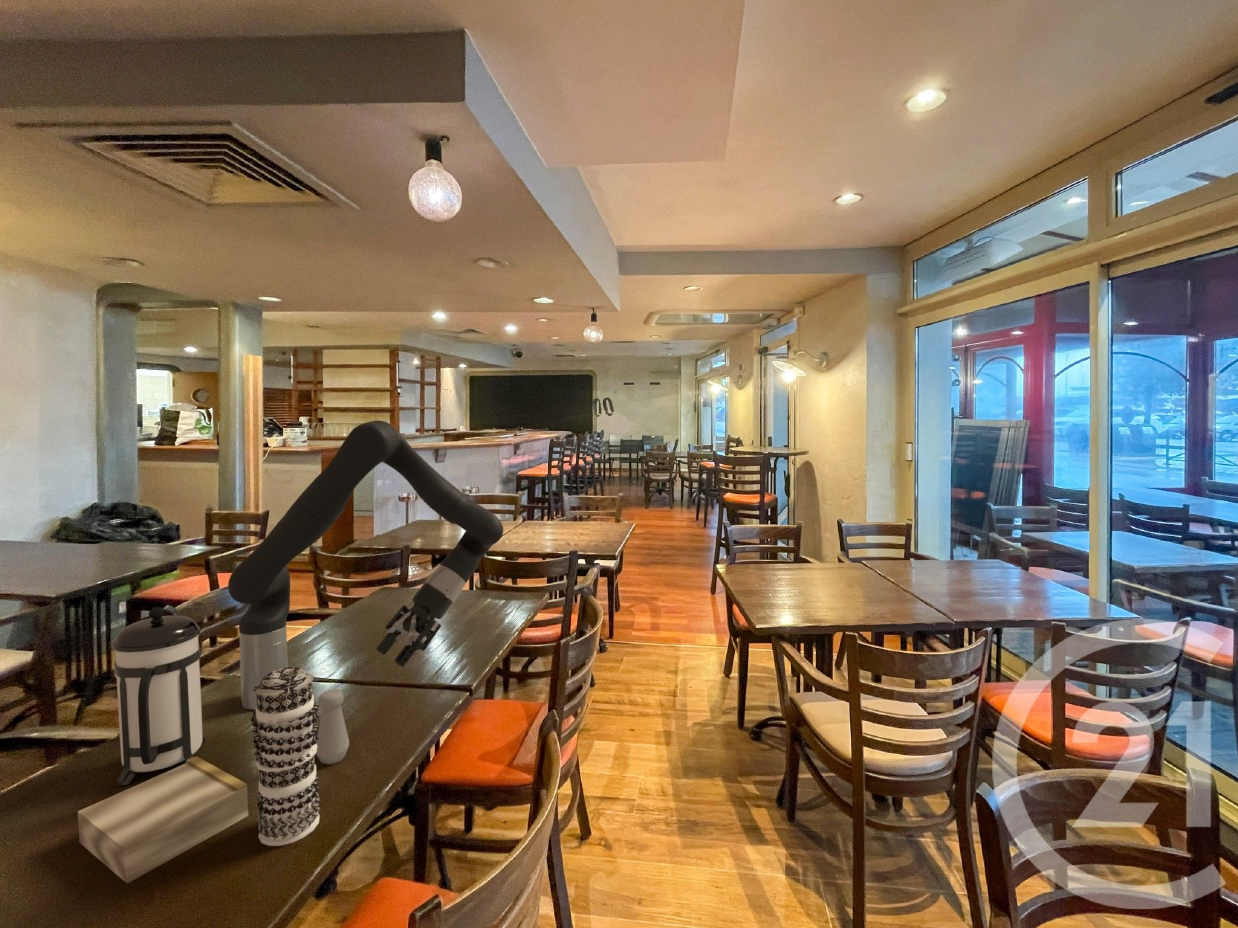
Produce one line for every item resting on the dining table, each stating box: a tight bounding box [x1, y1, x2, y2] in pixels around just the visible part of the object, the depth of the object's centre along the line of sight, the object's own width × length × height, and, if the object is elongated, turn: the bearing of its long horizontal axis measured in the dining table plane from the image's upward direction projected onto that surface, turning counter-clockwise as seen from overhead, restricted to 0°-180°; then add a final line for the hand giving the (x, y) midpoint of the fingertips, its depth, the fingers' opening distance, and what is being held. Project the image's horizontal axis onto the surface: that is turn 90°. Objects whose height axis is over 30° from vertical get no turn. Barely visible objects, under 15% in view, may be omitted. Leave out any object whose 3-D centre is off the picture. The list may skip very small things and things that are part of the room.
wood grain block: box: [77, 756, 249, 884], centre depth 90 cm, size 16×16×5 cm
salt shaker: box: [315, 689, 350, 765], centre depth 109 cm, size 6×6×13 cm
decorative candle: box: [250, 666, 321, 847], centre depth 90 cm, size 9×9×25 cm
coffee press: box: [111, 606, 206, 787], centre depth 106 cm, size 17×16×30 cm
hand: (388, 658), depth 117 cm, fingers open, 8 cm apart
